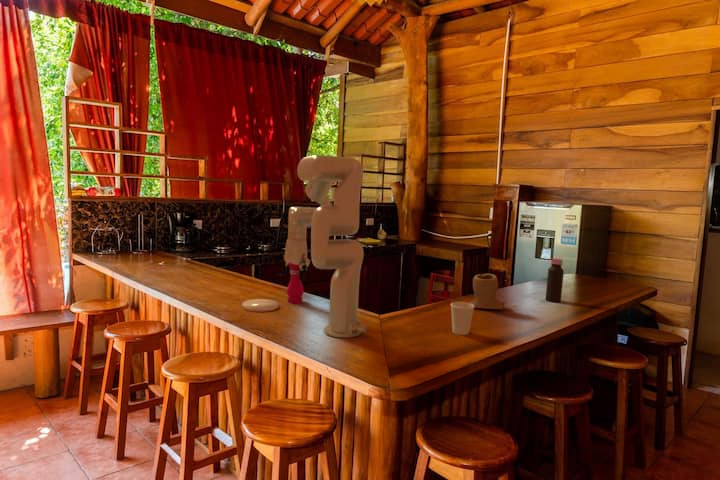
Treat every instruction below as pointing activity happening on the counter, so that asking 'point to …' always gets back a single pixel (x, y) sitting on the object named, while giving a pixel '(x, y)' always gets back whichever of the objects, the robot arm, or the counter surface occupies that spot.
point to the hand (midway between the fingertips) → (295, 277)
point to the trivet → (260, 305)
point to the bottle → (554, 281)
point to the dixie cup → (461, 317)
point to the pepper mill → (295, 285)
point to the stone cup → (486, 292)
